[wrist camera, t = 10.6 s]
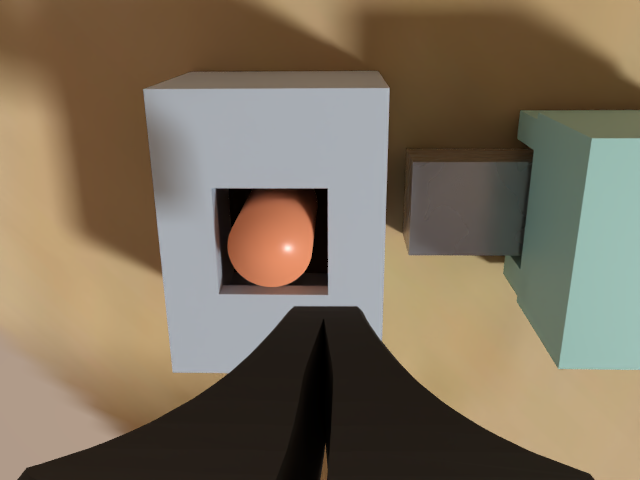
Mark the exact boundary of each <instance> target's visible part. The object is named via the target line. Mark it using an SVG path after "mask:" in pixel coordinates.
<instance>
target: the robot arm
mask: <svg viewBox="0 0 640 480" xmlns="http://www.w3.org/2000/svg"><path fill="white" fill-rule="evenodd" d="M325 443H326V453H327V465H328V475H327V480H594V479H593V477H592V476H591V475H590V474H589V473H586V472H583V471H581V470H578V469H575V468H573V467H570V466H567V465H565V464H562V463H559V462H557V461H554V460H551V459H549V458H546V457H543V456H541V455H538V454H536V453H533V452H531V451H528V450H526V449H524V448H522V447H520V446H518V445H516V444H514V443H512V442H510V441H508V440H505V439H503V438H501V437H499V436H497V435H495V434H494V433H492V432H490V431H488V430H486V429H484V428H483V427H481V426H479V425H477V424H476V423H474V422H473V421H471V420H469V419H468V418H466V417H465V416H463V415H461V414H460V413H458V412H457V411H455V410H454V409H452V408H451V407H449V406H448V405H446V404H445V403H444V402H442V401H441V400H440V399H438V398H437V397H436V396H435V395H433V394H432V393H431V392H430V391H428V390H427V389H426V388H425V387H423V386H422V385H421V384H420V383H419V382H418V381H417V380H415V379H414V378H413V377H412V376H411V374H410V373H409V372H408V371H407V370H406V369H405V368H404V367H403V366H402V365H401V364H400V363H399V362H398V361H397V360H396V358H395V357H394V356H393V355H392V354H391V352H390V351H389V350H388V349H387V347H386V346H385V345H384V344H383V342H382V341H381V340H380V338H379V337H378V336H377V334H376V333H375V331H374V330H373V328H372V327H371V325H370V324H369V322H368V321H367V319H366V317H365V315H364V313H363V311H362V310H361V309H360V308H359V307H358V306H294V307H293V308H292V309H291V310H290V311H288V313H287V314H286V315H285V316H284V317H283V319H282V320H281V321H280V322H279V323H278V325H277V326H276V327H275V328H274V329H273V330H272V331H271V333H270V334H269V335H268V336H267V337H266V338H265V339H264V340H263V341H262V342H261V343H260V344H259V345H258V346H257V347H256V349H255V350H254V351H253V352H252V353H251V354H250V355H249V356H248V357H246V358H245V359H244V360H243V361H242V362H241V363H240V364H239V365H238V366H236V367H235V368H234V369H233V370H232V371H231V372H230V373H228V374H227V375H226V376H225V377H223V378H222V379H221V380H219V381H218V382H217V383H215V384H214V385H213V386H211V387H210V388H208V389H207V390H205V391H204V392H202V393H201V394H200V395H198V396H196V397H195V398H193V399H192V400H190V401H188V402H187V403H185V404H183V405H181V406H179V407H178V408H176V409H174V410H172V411H170V412H169V413H167V414H165V415H163V416H161V417H160V418H158V419H156V420H154V421H152V422H150V423H148V424H146V425H144V426H142V427H140V428H137V429H135V430H133V431H131V432H129V433H126V434H124V435H122V436H119V437H117V438H114V439H112V440H109V441H107V442H105V443H102V444H99V445H97V446H94V447H91V448H89V449H86V450H82V451H79V452H76V453H73V454H70V455H67V456H64V457H61V458H58V459H55V460H52V461H48V462H45V463H43V464H39V465H35V466H32V467H29V468H26V470H25V471H24V472H23V473H22V475H21V476H20V477H19V478H18V480H320V478H321V472H322V465H323V458H324V451H325Z"/></svg>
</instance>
